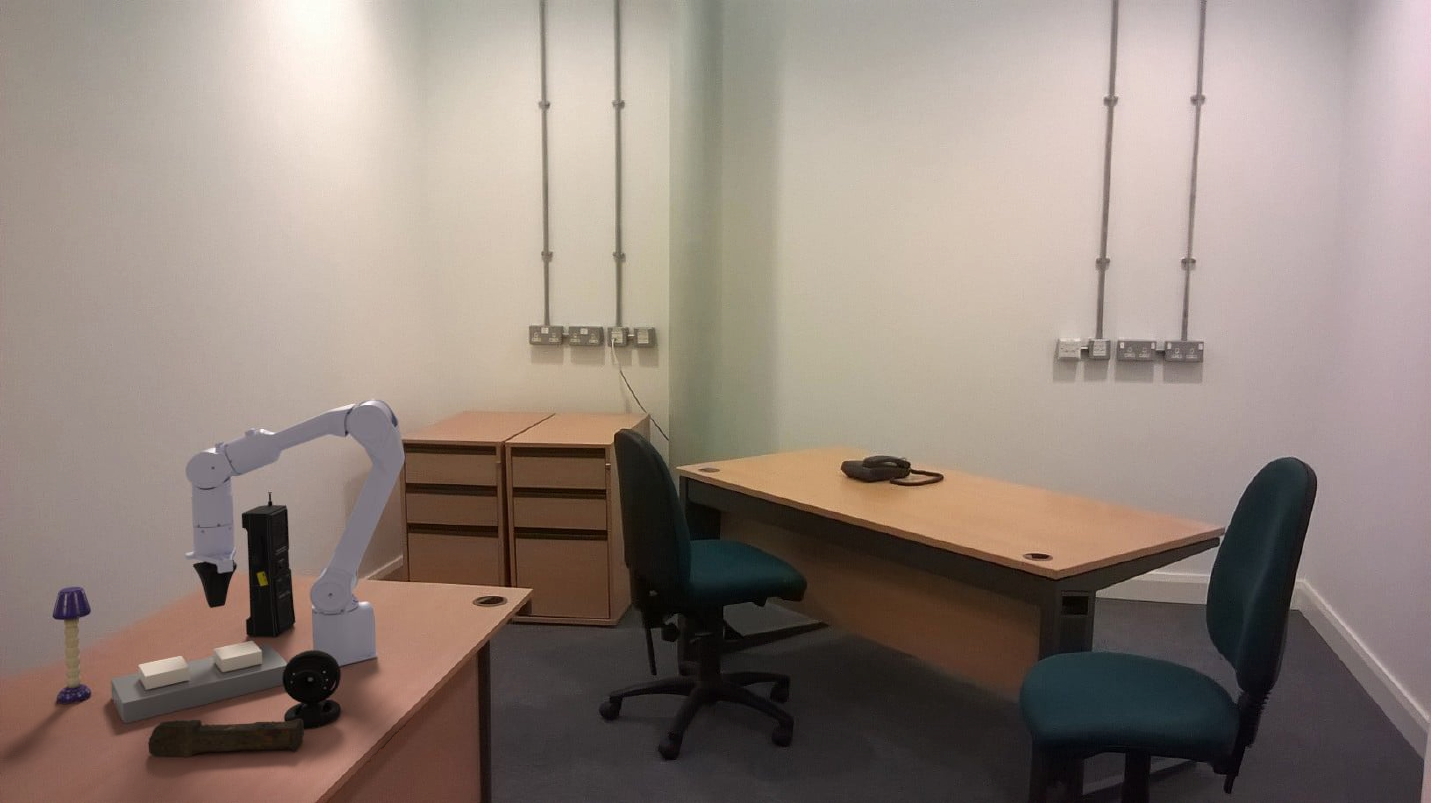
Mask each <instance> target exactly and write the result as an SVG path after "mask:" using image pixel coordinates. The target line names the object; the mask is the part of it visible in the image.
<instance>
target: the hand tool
mask: <svg viewBox="0 0 1431 803" xmlns="http://www.w3.org/2000/svg"><path fill="white" fill-rule="evenodd" d="M304 735H305V729H304V723H303V720H302V719H299V718H298V719H295V720H293V721H287V722H285V721H256V722H252V723H233V724H231V723H230V724H214V723H213V724H202V720H201V719H192V720H191V719H190V720H183V719H181V720H170V721H163V722H160V724H157V725H156V727H154V729H153V730H152V732H151V734H150V737H149V738H148V744H147V745H148V752H149V754H151V755H153V756H157V757H158V756H159V757H164V758H165V757H166V758H192V757H194V756H196V755H198V754H200V753H210V752H213V753H214V752H229V751H256V750H257V751H258V750H259V751H260V750H261V751H263V750H270V751H271V750H276V751H277V750H281V749H290V750H292V752H293V753H297V752H298V750H299V749H300V748H301V746H302V743H303V738H304Z"/></svg>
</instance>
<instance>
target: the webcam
mask: <svg viewBox="0 0 1431 803" xmlns="http://www.w3.org/2000/svg"><path fill="white" fill-rule="evenodd" d="M341 678H342V671H341V666H339V665H338V663H337V661H336V659H335V658H333V657H332V656H331V655H330V654H328V653H325V652H323V651H319V650H313V649H311V650H309V649H308V650H306V651H302V652H299V653H298V654H296V655H294V656H292V658H291V659H289V661H288V662H287V665H286V666H285V669H284V671H283V677H282V682H283V685H282V686H283V688H284V690H285V693H286V694H287V695H288V696H289V697H290V699H293V700H294V701H296V702H297V704H295V705H293V706H291V707H290V708H288V709H287V710H286V711H285V713H284V716H283V720H284V721H283V722H287V721H293V720H295V719H298V718H299V719H302V720H303V723H304V730H308V729H316V728H319V727H322V726H325V725H327V724H330V723H333V722H334V721H335V720H337V718H339V716H340V715H341V712H342V706H341V704H340V703H339V702H337V701H334V700H332V699H329V698H331V697H332V695H333V694H335V692H336V691H337V689H338V688H339V685H340V682H341ZM322 710H326V711H328V712H326V713H324V714H323V713H322Z"/></svg>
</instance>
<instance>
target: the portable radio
mask: <svg viewBox="0 0 1431 803" xmlns="http://www.w3.org/2000/svg"><path fill="white" fill-rule="evenodd" d="M267 493H268V501H267V504H265V505H258V506H257V507H254V508H251V509H249V510H247V511H244V512H242V513H241V528H242V529H245V530H246V532H247V533H246V534H247V539H246V540H247V557H248V558H247V559H248V562H247V563H248V586H249V588H248V589H249V591H248V592H249V617H247V619H245V631H246V632H245V633H246V635H247V636H249V637H254V638H257V637H259V638H277V637H279V636H280V635H282V634H283V633H284V632H286V631H288V630H289V629H290V628H291V627H293V626H294V625H295V623H296V622H297V621H296V614H295V605H294V593H293V578H292V569H291V568H290V558H289V553H290V552H289V550H290V538H289V534H290V533H289V532H290V531H289V513H288V512H289V511H288V507H287V505H286V504H284V505H280V504H273V501H272V493H273V492H272V491H269V492H267Z"/></svg>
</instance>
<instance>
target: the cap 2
mask: <svg viewBox="0 0 1431 803" xmlns="http://www.w3.org/2000/svg"><path fill="white" fill-rule="evenodd" d="M212 652H213V654H212V655H213V656H214V662H215V663H216V665H217V666H218V667H219V669H220V670H221V671H222V672H227V671H228V672H229V671H233V670H238V669H242V668H246V667H249V666H253V665H257V664H262V651H261V650H260V649H259V646H258V645H257V644H256V643H255V642H254V641H253V640H250V641H249V640H248V641H244V642H240V643H235V644H230V645H225V646H220V647H216V648H213V649H212Z"/></svg>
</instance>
